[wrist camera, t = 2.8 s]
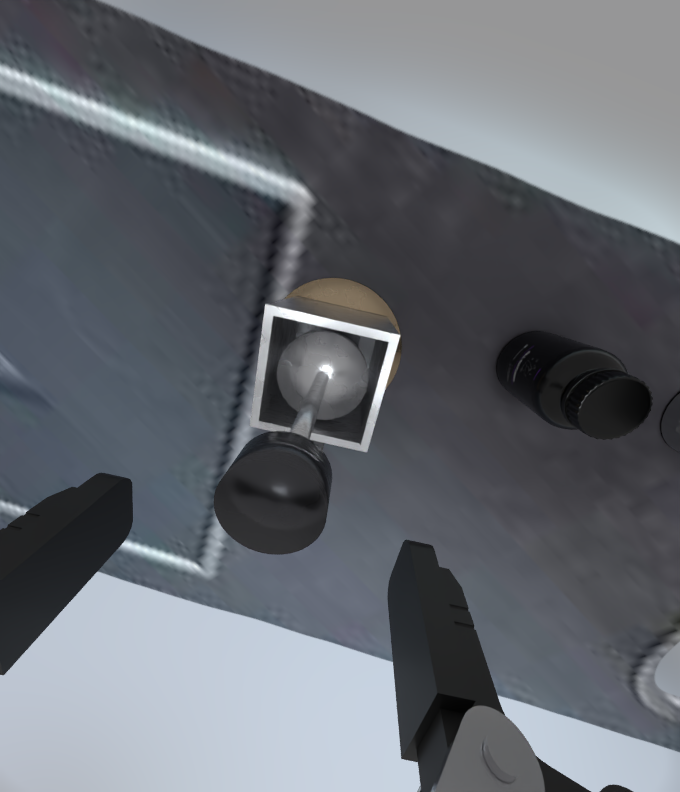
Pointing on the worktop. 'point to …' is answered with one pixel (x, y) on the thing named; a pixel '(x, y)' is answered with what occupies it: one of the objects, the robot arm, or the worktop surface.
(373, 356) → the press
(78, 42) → the worktop surface
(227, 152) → the worktop surface
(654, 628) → the worktop surface
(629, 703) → the worktop surface
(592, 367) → the supplement bottle
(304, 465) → the plunger
